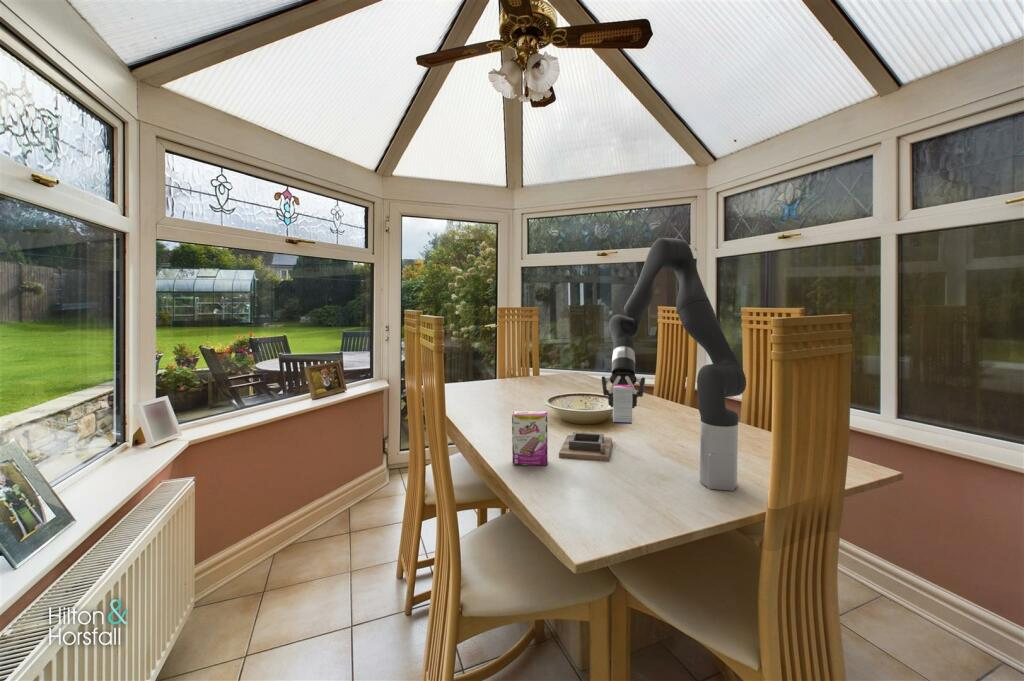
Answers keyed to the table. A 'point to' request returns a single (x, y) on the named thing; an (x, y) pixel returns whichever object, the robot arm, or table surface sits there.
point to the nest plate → (586, 446)
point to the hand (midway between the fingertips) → (622, 406)
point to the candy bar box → (530, 437)
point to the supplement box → (622, 404)
